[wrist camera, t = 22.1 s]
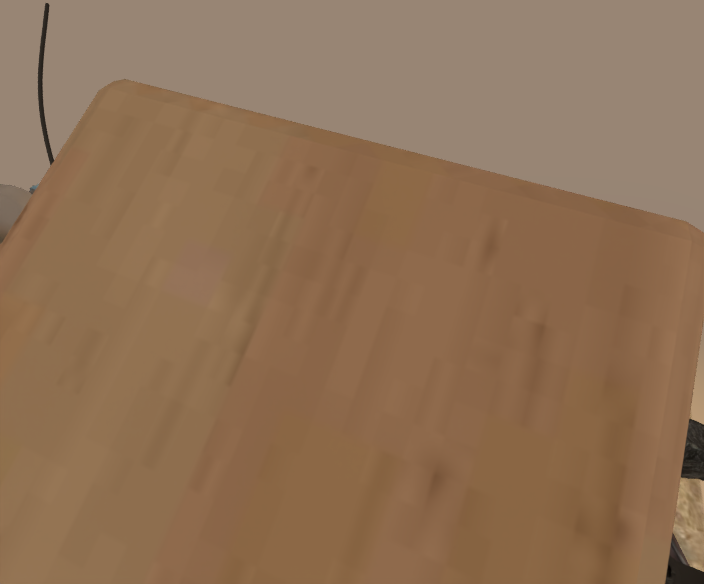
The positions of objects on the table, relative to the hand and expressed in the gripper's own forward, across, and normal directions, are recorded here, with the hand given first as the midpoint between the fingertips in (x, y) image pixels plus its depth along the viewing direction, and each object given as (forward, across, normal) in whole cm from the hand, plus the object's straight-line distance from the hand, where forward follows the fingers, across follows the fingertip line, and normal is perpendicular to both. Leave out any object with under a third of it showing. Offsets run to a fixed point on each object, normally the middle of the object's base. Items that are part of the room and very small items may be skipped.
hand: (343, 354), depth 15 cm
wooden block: (+5, 0, -8) cm, 10 cm away
